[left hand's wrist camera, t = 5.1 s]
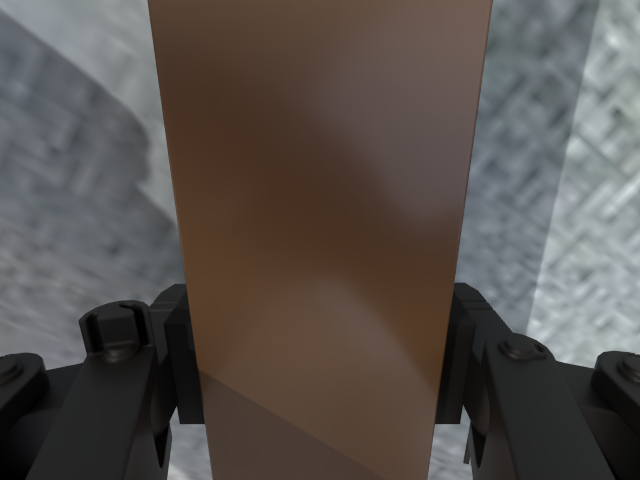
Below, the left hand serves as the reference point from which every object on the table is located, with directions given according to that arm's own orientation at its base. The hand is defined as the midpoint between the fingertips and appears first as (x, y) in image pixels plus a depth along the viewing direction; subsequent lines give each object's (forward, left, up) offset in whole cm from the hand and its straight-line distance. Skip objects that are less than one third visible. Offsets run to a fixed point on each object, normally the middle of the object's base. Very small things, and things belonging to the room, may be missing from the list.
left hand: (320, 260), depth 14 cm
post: (+3, +34, -1) cm, 34 cm away
